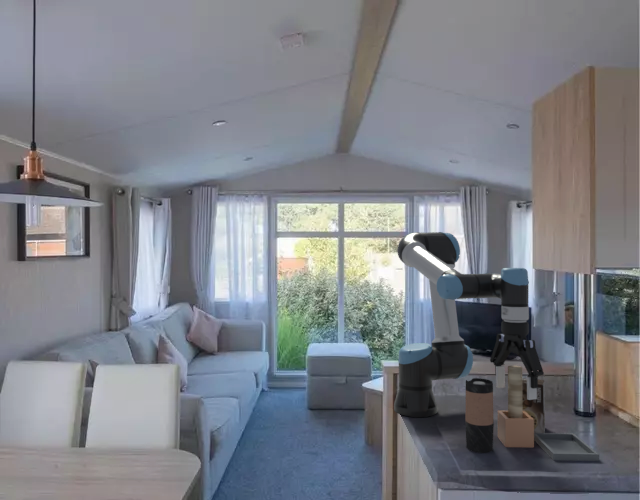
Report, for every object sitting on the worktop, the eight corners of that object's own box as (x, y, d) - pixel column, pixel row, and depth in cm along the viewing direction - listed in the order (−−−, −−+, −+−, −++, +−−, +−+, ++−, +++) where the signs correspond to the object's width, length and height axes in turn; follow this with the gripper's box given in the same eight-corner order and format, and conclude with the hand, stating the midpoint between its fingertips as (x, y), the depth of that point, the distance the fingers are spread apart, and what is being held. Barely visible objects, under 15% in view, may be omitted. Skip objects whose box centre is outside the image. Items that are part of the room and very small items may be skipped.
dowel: (506, 439, 158) (506, 365, 158) (520, 439, 158) (519, 365, 158) (510, 444, 154) (510, 368, 154) (524, 444, 154) (524, 368, 154)
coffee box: (545, 430, 168) (545, 379, 168) (544, 437, 163) (544, 384, 163) (514, 426, 172) (514, 376, 172) (512, 432, 166) (512, 381, 166)
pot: (497, 440, 160) (497, 410, 160) (524, 440, 160) (524, 410, 160) (505, 450, 152) (505, 419, 152) (534, 450, 152) (533, 419, 152)
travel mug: (495, 457, 147) (494, 385, 147) (466, 455, 148) (466, 384, 148) (491, 447, 154) (491, 378, 154) (464, 445, 156) (464, 377, 156)
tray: (532, 441, 159) (532, 432, 159) (573, 442, 158) (573, 433, 158) (553, 463, 143) (553, 453, 143) (599, 464, 142) (599, 454, 142)
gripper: (478, 316, 166) (478, 384, 166) (534, 326, 143) (535, 406, 143) (498, 315, 169) (498, 382, 169) (557, 325, 145) (557, 403, 145)
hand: (515, 393), depth 156 cm, fingers open, 13 cm apart
